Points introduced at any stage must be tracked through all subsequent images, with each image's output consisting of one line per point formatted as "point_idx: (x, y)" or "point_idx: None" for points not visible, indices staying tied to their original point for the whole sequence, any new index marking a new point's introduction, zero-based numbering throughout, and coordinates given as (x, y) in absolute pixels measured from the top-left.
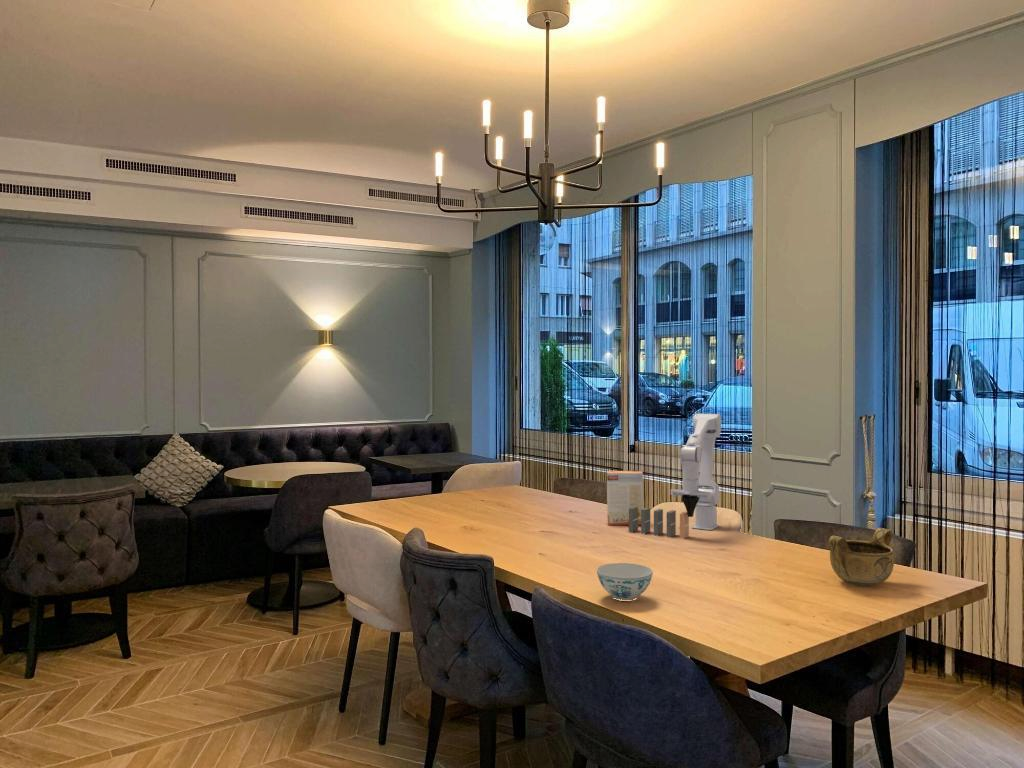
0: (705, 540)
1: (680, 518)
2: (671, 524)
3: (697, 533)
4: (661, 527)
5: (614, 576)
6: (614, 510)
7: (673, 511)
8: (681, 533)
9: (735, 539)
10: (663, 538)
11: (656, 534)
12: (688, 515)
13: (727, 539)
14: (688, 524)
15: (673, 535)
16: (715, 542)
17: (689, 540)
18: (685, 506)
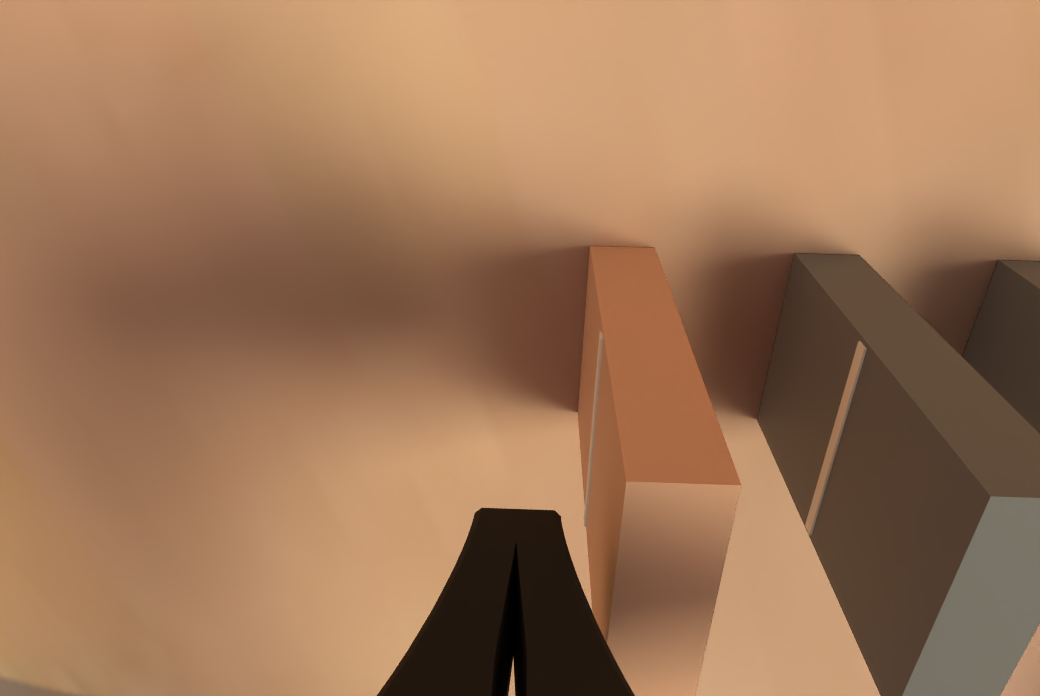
0: (303, 299)
1: (701, 417)
2: (857, 369)
3: None
4: None
5: None
6: None
7: (932, 637)
8: (637, 278)
9: (54, 499)
10: (893, 125)
11: (1029, 266)
12: (539, 522)
13: (120, 464)
14: (585, 508)
15: (774, 354)
16: (140, 252)
17: (490, 193)
18: (624, 692)
